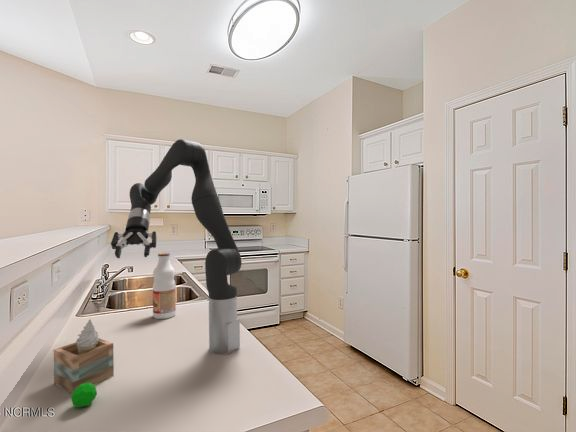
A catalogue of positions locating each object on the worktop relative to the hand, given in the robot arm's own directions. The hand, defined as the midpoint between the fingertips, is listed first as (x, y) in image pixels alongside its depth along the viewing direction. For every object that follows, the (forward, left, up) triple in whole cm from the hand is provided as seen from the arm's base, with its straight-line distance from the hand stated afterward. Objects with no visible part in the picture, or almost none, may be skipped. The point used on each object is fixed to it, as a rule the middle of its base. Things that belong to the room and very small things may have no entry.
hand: (131, 256), depth 103 cm
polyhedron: (-21, +26, -31) cm, 45 cm away
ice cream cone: (-9, +20, -28) cm, 35 cm away
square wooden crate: (-9, +20, -31) cm, 37 cm away
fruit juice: (+17, -26, -31) cm, 44 cm away
